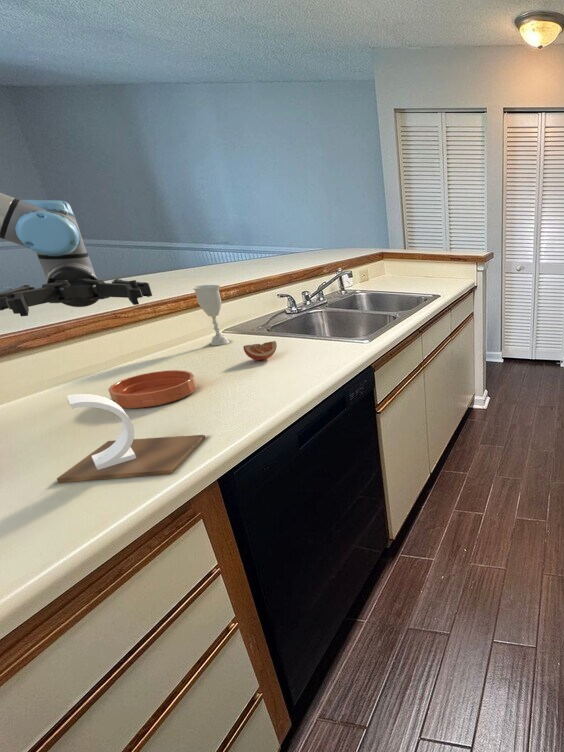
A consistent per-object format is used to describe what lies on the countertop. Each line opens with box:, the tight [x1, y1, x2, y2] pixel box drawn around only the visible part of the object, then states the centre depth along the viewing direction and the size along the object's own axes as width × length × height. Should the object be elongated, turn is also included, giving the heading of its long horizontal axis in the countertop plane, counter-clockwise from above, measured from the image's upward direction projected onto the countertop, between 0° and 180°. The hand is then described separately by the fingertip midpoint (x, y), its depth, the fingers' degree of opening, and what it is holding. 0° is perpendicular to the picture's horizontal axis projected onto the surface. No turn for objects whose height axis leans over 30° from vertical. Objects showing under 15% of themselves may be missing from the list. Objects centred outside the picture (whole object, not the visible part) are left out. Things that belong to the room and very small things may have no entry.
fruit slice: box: [243, 340, 278, 361], centre depth 121 cm, size 8×7×5 cm
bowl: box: [107, 369, 198, 409], centre depth 97 cm, size 15×15×4 cm
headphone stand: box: [66, 393, 136, 470], centre depth 70 cm, size 5×6×12 cm
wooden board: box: [56, 434, 206, 484], centre depth 74 cm, size 16×12×1 cm
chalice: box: [192, 284, 230, 346], centre depth 133 cm, size 7×7×18 cm
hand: (81, 302), depth 70 cm, fingers open, 13 cm apart
